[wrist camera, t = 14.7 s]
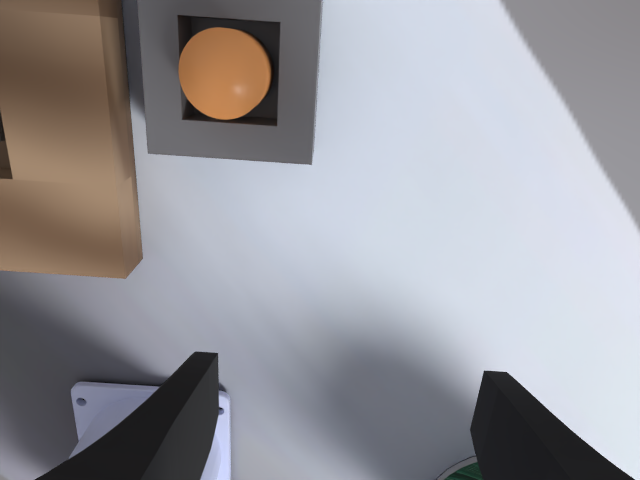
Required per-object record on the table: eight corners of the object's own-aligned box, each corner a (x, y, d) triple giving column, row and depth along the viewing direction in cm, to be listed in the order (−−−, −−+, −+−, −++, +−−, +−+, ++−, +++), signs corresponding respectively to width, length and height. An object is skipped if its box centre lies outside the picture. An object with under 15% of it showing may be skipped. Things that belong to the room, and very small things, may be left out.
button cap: (272, 112, 18) (265, 122, 16) (198, 107, 18) (180, 116, 16) (274, 32, 17) (267, 30, 15) (196, 26, 17) (176, 24, 15)
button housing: (313, 150, 20) (311, 164, 18) (168, 140, 20) (148, 153, 18) (323, -12, 18) (322, -20, 15) (160, -24, 18) (134, -33, 15)
